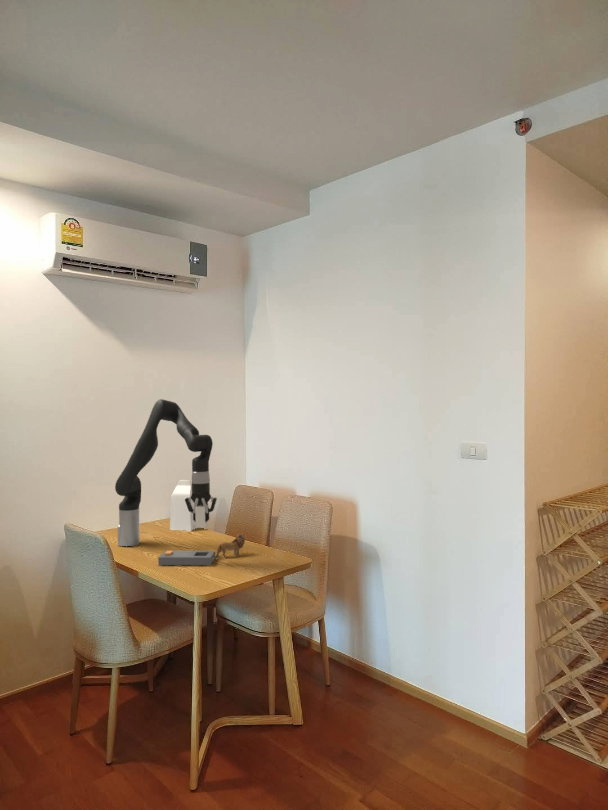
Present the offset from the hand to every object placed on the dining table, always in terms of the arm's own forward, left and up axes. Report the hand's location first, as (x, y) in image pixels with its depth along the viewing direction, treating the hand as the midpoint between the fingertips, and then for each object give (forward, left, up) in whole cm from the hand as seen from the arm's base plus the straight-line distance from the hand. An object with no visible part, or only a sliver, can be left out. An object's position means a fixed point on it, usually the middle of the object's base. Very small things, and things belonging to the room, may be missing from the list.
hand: (201, 521), depth 230 cm
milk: (-22, +59, -18) cm, 65 cm away
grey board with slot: (-6, 0, -18) cm, 19 cm away
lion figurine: (+11, +9, -18) cm, 23 cm away
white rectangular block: (0, 0, -2) cm, 2 cm away
